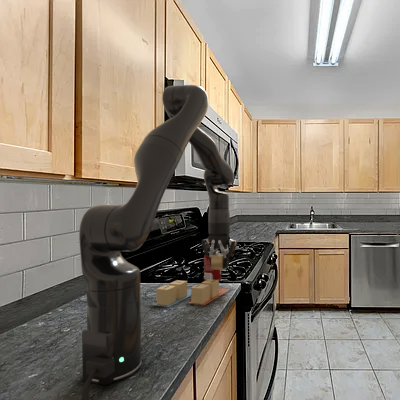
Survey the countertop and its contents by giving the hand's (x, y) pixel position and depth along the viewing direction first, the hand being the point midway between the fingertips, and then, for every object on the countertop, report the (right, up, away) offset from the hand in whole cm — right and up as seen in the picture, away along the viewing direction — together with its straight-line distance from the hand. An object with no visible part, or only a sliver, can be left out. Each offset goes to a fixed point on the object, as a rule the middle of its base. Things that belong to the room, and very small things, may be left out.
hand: (219, 267), depth 112 cm
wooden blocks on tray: (-2, -9, -6) cm, 11 cm away
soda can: (-7, -9, +14) cm, 18 cm away
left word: (-12, -9, -7) cm, 17 cm away
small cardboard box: (0, 0, 0) cm, 0 cm away
